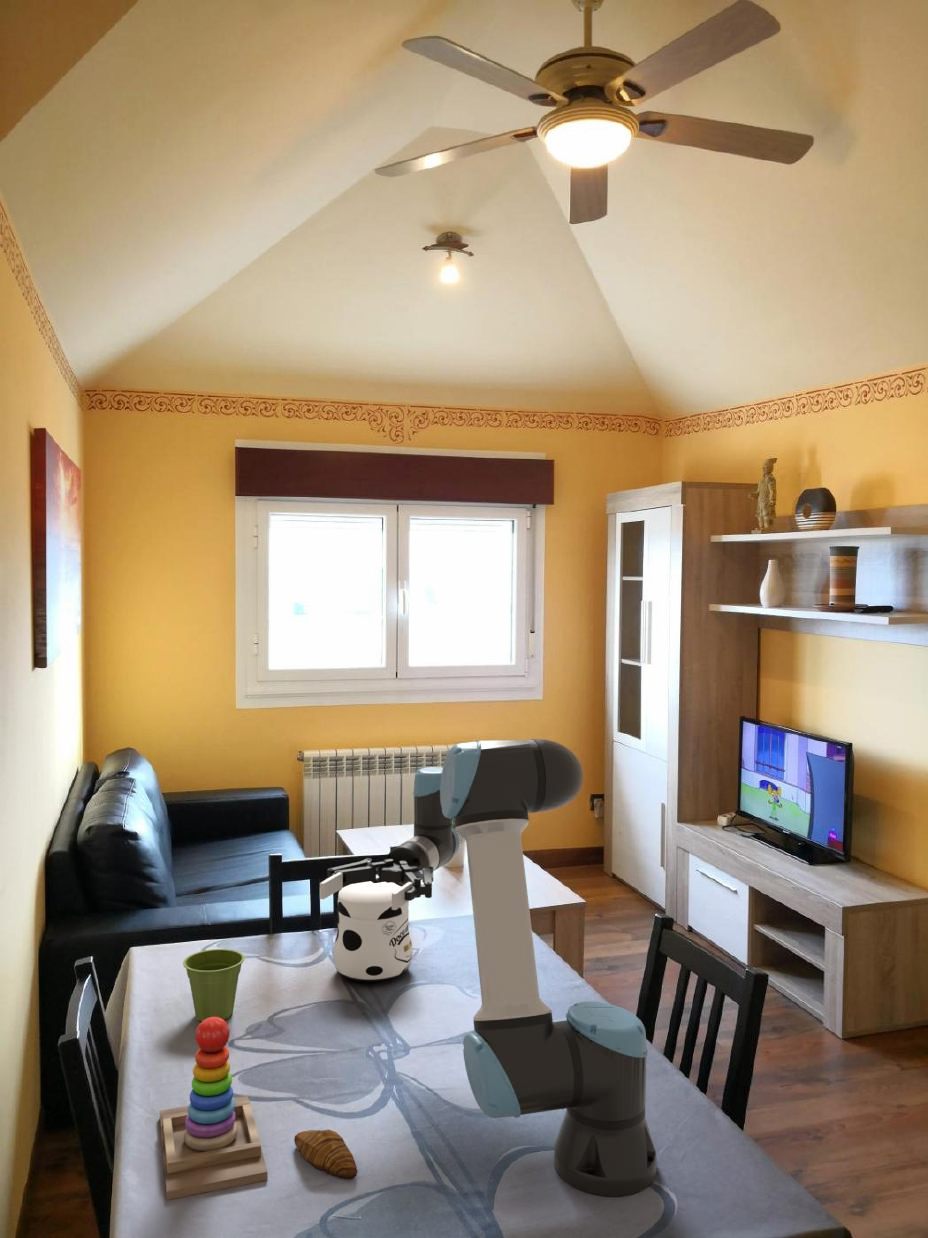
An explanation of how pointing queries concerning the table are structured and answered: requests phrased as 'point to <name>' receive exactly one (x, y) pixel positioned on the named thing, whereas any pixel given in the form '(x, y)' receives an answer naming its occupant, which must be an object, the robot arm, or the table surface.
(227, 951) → the plant pot
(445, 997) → the table surface
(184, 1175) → the toy stand
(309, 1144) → the croissant
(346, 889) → the milk container
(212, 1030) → the stacking toy
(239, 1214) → the table surface
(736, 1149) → the table surface
